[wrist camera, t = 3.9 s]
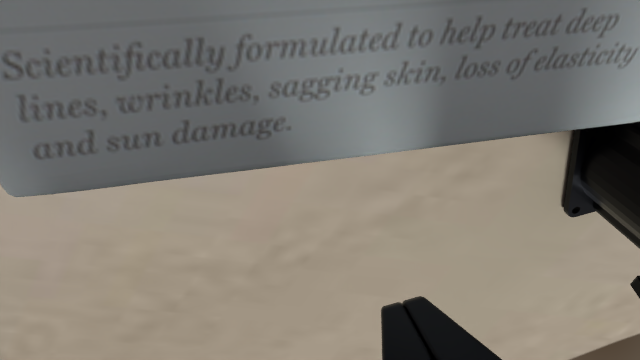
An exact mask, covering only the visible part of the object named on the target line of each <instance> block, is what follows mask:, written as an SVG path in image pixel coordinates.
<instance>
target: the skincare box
mask: <svg viewBox="0 0 640 360" xmlns="http://www.w3.org/2000/svg"><path fill="white" fill-rule="evenodd" d="M639 121H640V0H0V183H1V185H2V187H3V188H4V190H5V191H6V192H7V193H8V194H9V195H12V196H14V197H25V196H36V195H47V194H57V193H66V192H75V191H84V190H92V189H100V188H107V187H115V186H123V185H130V184H138V183H146V182H154V181H162V180H170V179H179V178H187V177H195V176H203V175H212V174H220V173H228V172H236V171H245V170H253V169H261V168H270V167H278V166H286V165H294V164H302V163H310V162H318V161H326V160H335V159H343V158H352V157H360V156H369V155H377V154H385V153H393V152H401V151H408V150H416V149H424V148H432V147H440V146H448V145H456V144H464V143H472V142H480V141H488V140H496V139H504V138H512V137H520V136H528V135H536V134H544V133H552V132H560V131H568V130H576V129H585V128H593V127H601V126H609V125H618V124H626V123H633V122H639Z"/></svg>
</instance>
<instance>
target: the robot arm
mask: <svg viewBox="0 0 640 360" xmlns="http://www.w3.org/2000/svg"><path fill="white" fill-rule="evenodd" d="M595 211H597V212H598V213H599V214H600V215H601V216H602V217H604V218H605V219H606V220H607V221H608V222H609V223H611V224H612V225H613V226H614V227H615V228H616V229H618V230H619V231H620V232H621V233H622V234H623V235H625V236H626V237H627V238H628V239H629V240H630V241H631V242H633V243H634V244H635V245H636V246H637V247H638V248H640V121H639V122H633V123H626V124H618V125H609V126H601V127H593V128H585V129H576V130H575V134H574V141H573V147H572V154H571V161H570V168H569V175H568V182H567V189H566V196H565V203H564V212H565V213H566V214H567V215H568V216H570V217H577V216H580V215H584V214H588V213H591V212H595ZM630 285H631V286H632V288H633V289H634V291H635V292H636V294H637V295H638V297H639V298H640V276H637V277H636V278H635V279H634V280H633V282H632V283H631V284H630ZM381 323H382V360H502V359H500V358H499V357H498V356H497V355H496V354H494V353H493V352H492V351H491V350H489V349H488V348H487V347H486V346H484V345H483V344H482V343H481V342H479V341H478V340H477V339H476V338H474V337H473V336H472V335H471V334H469V333H468V332H467V331H466V330H464V329H463V328H462V327H461V326H459V325H458V324H457V323H456V322H454V321H453V320H452V319H451V318H449V317H448V316H447V315H446V314H444V313H443V312H442V311H441V310H439V309H438V308H437V307H436V306H434V305H433V304H432V303H431V302H429V301H428V300H427V299H426V298H424V297H421V296H419V297H415V298H412V299H408V300H405V301H403V303H400V302H397V303H394V304H390V305H387V306H383V307H382V309H381Z"/></svg>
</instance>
